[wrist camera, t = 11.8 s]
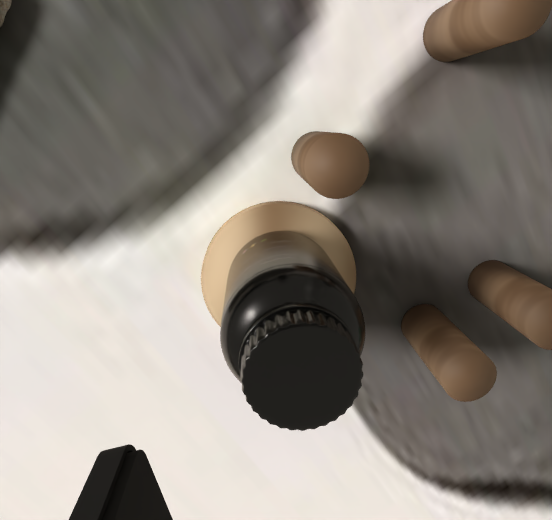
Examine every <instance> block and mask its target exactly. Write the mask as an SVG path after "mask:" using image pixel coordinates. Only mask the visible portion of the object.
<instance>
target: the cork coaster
mask: <svg viewBox="0 0 552 520" xmlns="http://www.w3.org/2000/svg"><path fill="white" fill-rule="evenodd" d="M273 231H292V232H296V233H300V234H302V235H305V236H307V237H309V238H310V239H312V240H313V241H315V242H316V243H317V244H318V245H320V246H321V248H322V249H323V250H324V251H325V252H326V254H327V255H328V256H329V258H330V259H331V261H332V262H333V264H334V265H335V267H336V268H337V270H338V271H339V273H340V274H341V276H342V277H343V279H344V280H345V282H346V283H347V285H348V286H349V288H350V289H351V291H352V293H353V294H354V291H355V285H356V266H355V260H354V256H353V253H352V251H351V248H350V246H349V244H348V242H347V240H346V239H345V237H344V235H343V234H342V233H341V232H340V230H339V229H338V228H337V227H336V226H335V225H334V224H333V223H332V222H331V221H330V220H329V219H328V218H327V217H325V216H324V215H323V214H321V213H320V212H318V211H316V210H314V209H312V208H310V207H307V206H305V205H302V204H298V203H293V202H285V201H274V202H266V203H260V204H257V205H254V206H251V207H249V208H246V209H244V210H242V211H240V212H239V213H237V214H236V215H234V216H233V217H231V218H230V219H229V220H228V221H227V222H225V223H224V224H223V226H222V227H221V228H220V229H219V230H218V231H217V233H216V234H215V236H214V237H213V239H212V240H211V242H210V244H209V246H208V249H207V252H206V255H205V258H204V261H203V266H202V272H201V285H202V292H203V297H204V300H205V303H206V306H207V308H208V310H209V312H210V314H211V315H212V317H213V318H214V320H215V321H216V322H217V324H218V325H219V326H220V327H221V320H222V313H223V306H224V299H225V292H226V285H227V278H228V274H229V270H230V267H231V264H232V262H233V260H234V258H235V256H236V255H237V253H238V252H239V251H240V250H241V248H242V247H243V246H244V245H245V244H247V243H248V242H249V241H251V240H252V239H254V238H255V237H257V236H259V235H262V234H265V233H268V232H273Z"/></svg>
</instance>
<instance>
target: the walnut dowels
mask: <svg viewBox="0 0 552 520" xmlns="http://www.w3.org/2000/svg"><path fill="white" fill-rule="evenodd" d="M551 7H552V0H452V1H450V2H449V3H447V4H445V5H444V6H442V7H440V8H439V9H437V10H436V11H435V12H433V14H432V15H431V16H430V17H429V18H428V20H427V22H426V24H425V27H424V32H423V41H424V45H425V48H426V50H427V52H428V53H429V55H430V56H431V57H433V58H434V59H436V60H438V61H441V62H451V61H454V60H457V59H460V58H464V57H467V56H470V55H473V54H476V53H479V52H483V51H486V50H489V49H492V48H495V47H498V46H502V45H505V44H508V43H511V42H514V41H517V40H520V39H524V38H526V37H528V36H530V35H532V34H534V33H535V32H536V31H537V30H538V29H539V28H540V27H541V26H542V25H543V24H544V22H545V21H546V19H547V17H548V15H549V13H550V10H551ZM291 160H292V164H293V167H294V169H295V171H296V172H297V173H298V174H299V175H300V176H301V177H302V178H303V179H304V180H305V181H306V182H307V183H308V184H309V185H310V186H311V187H312V188H313V189H314V190H315V191H316V192H318V193H319V194H321V195H322V196H325V197H327V198H332V199H340V198H345V197H348V196H350V195H352V194H354V193H355V192H356V191H358V190H359V189H360V188H361V186H362V185H363V184H364V182H365V180H366V178H367V176H368V172H369V157H368V154H367V151H366V149H365V147H364V146H363V145H362V143H361V142H360V141H359V140H357V139H356V138H354V137H353V136H350V135H348V134H342V133H330V132H318V131H315V132H309V133H307V134H305V135H303V136H302V137H300V138H299V139H298V140H297V142H296V143H295V145H294V147H293V150H292V155H291ZM468 289H469V292H470V294H471V295H472V296H473V297H474V298H475V299H477V300H478V301H479V302H481V303H482V304H483V305H485V306H486V307H487V308H489V309H490V310H491V311H493V312H494V313H495V314H497V315H498V316H499V317H501V318H502V319H503V320H504V321H506V322H507V323H508V324H510V325H511V326H512V327H514V328H515V329H516V330H518V331H519V332H520V333H522V334H523V335H524V336H526V337H527V338H528V339H530V340H531V341H532V342H534V343H535V344H536V345H538V346H539V347H541V348H543V349H548V350H552V289H550V288H548V287H546V286H545V285H543V284H541V283H539V282H537V281H535V280H533V279H532V278H530V277H528V276H526V275H524V274H522V273H520V272H519V271H517V270H515V269H513V268H511V267H509V266H507V265H506V264H504V263H502V262H500V261H496V260H489V261H485V262H483V263H481V264H479V265H478V266H476V267H475V268H474V269H473V271H472V272H471V274H470V276H469V279H468ZM401 329H402V332H403V335H404V336H405V337H406V339H407V340H408V341H409V343H410V344H411V345H412V347H413V348H414V349H415V351H416V352H417V353H418V355H419V356H420V357H421V359H422V360H423V362H424V363H425V364H426V366H427V367H428V368H429V370H430V371H431V372H432V374H433V375H434V376H435V378H436V379H437V380H438V382H439V383H440V384H441V386H442V387H443V388H444V390H445V391H446V392H447V394H448V395H449V396H450V397H452V398H453V399H455V400H458V401H464V402H467V401H473V400H477V399H479V398H481V397H483V396H484V395H486V394H487V393H488V392H489V391H490V390H491V388H492V387H493V385H494V383H495V381H496V376H497V371H496V367H495V365H494V363H493V362H492V361H491V360H490V359H489V358H488V357H487V356H486V355H485V354H484V353H483V352H482V351H481V350H480V349H479V348H478V347H477V346H476V345H475V344H474V343H473V342H472V341H471V340H470V339H469V338H468V337H467V336H465V335H464V334H463V333H462V332H461V331H460V330H459V329H458V328H457V327H456V326H455V325H454V324H453V323H452V322H451V321H450V320H449V319H448V318H447V317H446V316H445V315H444V314H443V313H442V312H441V311H439V310H438V309H437V308H436V307H435V306H432V305H429V304H421V305H417V306H414V307H413V308H411V309H410V310H409V311H407V313H406V314H405V315H404V317H403V319H402V323H401Z"/></svg>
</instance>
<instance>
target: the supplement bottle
mask: <svg viewBox="0 0 552 520" xmlns="http://www.w3.org/2000/svg"><path fill="white" fill-rule="evenodd" d="M220 340H221V348H222V352H223V355H224V358H225V361H226V363H227V365H228V367H229V368H230V370H231V372H232V373H233V374H234V376H235V377H236V378H237V379H238V380H239V381H240V382H241V383H242V391H243V393H244V394H245V395H246V401H247V402H248V403H249V404H250V405H251V406H252V409H253V411H254V412H256V413H258V414H259V416H260V418H262V419H265V420H267V421H268V422H269V423H270V424H273V425H277V426H278V427H279V428H287V429H289V430H297V429H298V430H302V431H304V430H307V429H316V428H317V427H319V426H326V425H327V424H328V423H329V422H331V421H335V420H336V419H337V418H338V417H339V416H340V415H343V414H345V412H346V410H347V409H348V408H349V407H350V406H352V404H353V401H354V399H355V398H356V397H357V396H358V390H359V389H360V388H361V386H362V384H361V379H362V377H363V372H362V365H363V363H362V360H361V358H360V356H361V353H362V350H363V347H364V341H365V322H364V317H363V313H362V311H361V308H360V306H359V303H358V301H357V299H356V297H355V296H354V294H353V293H352V291H351V289H350V288H349V286H348V285H347V283H346V282H345V280H344V279H343V277H342V276H341V274H340V273H339V271H338V270H337V268H336V267H335V265H334V264H333V262H332V261H331V259H330V258H329V256H328V255H327V254H326V252H325V251H324V250H323V249H322V248H321V246H320V245H318V244H317V243H316V242H315V241H313V240H312V239H310V238H309V237H307V236H305V235H302V234H300V233H296V232H292V231H273V232H268V233H265V234H262V235H259V236H257V237H255V238H254V239H252V240H251V241H249V242H248V243H247V244H245V245H244V246H243V247H242V248H241V250H240V251H239V252H238V253H237V255H236V256H235V258H234V260H233V262H232V264H231V267H230V270H229V274H228V278H227V285H226V292H225V299H224V306H223V313H222V320H221V331H220Z"/></svg>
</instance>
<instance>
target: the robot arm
mask: <svg viewBox="0 0 552 520" xmlns="http://www.w3.org/2000/svg"><path fill="white" fill-rule="evenodd" d="M69 520H173V519H172V517H171V514H170V512H169V510H168V507H167V505H166V502H165V500H164V497H163V495H162V493H161V490H160V488H159V485H158V483H157V481H156V478H155V476H154V473H153V471H152V468H151V466H150V464H149V461H148V459H147V456H146V454H145V452H144V451H143V450H137V451H136V449H135V447H134V446H132V445H125V446H121V447H117V448H113V449H108V450H104V451H102V452H100V454H99V455H98V457H97V459H96V461H95V463H94V465H93V468H92V470H91V472H90V474H89V476H88V479H87V481H86V483H85V485H84V487H83V490H82V492H81V494H80V496H79V498H78V501H77V503H76V505H75V507H74V509H73V512H72V514H71V516H70V518H69Z"/></svg>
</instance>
